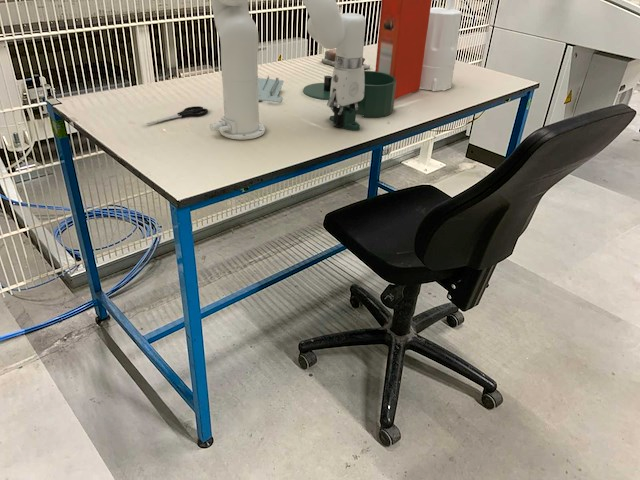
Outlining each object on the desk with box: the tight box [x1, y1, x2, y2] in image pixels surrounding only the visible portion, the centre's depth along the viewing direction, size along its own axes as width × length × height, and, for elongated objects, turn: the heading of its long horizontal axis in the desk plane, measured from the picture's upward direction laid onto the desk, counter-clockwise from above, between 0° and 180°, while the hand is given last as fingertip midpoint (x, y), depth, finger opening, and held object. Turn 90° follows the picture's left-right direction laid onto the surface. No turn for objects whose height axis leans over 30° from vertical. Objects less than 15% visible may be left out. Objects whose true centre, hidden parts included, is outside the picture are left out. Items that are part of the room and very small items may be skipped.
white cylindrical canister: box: [419, 0, 462, 92], centre depth 183 cm, size 15×15×33 cm
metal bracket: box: [258, 75, 285, 103], centre depth 173 cm, size 14×6×15 cm
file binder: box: [374, 0, 433, 100], centre depth 173 cm, size 8×17×32 cm, turn 139°
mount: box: [329, 106, 361, 132], centre depth 153 cm, size 11×4×5 cm, turn 47°
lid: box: [302, 75, 332, 101], centre depth 176 cm, size 17×17×6 cm
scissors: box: [146, 105, 209, 125], centre depth 153 cm, size 7×1×20 cm
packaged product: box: [321, 48, 371, 70], centre depth 207 cm, size 18×5×10 cm
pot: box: [345, 70, 397, 119], centre depth 164 cm, size 16×16×10 cm
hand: (344, 123), depth 154 cm, fingers closed on mount, 4 cm apart
